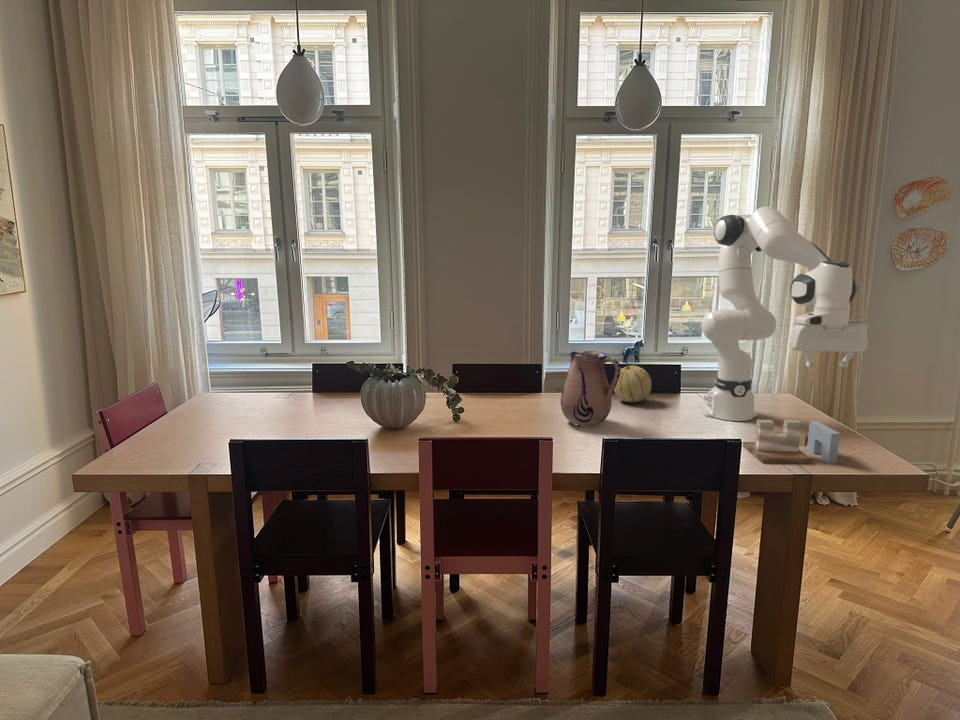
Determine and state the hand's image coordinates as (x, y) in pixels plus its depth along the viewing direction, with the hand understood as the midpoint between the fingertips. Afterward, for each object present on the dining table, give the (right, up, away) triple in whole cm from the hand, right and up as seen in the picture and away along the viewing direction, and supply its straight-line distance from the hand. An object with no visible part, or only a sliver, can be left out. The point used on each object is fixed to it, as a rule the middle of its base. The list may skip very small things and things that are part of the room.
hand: (826, 366), depth 174 cm
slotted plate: (+3, -27, +8) cm, 28 cm away
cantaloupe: (-39, -15, +67) cm, 79 cm away
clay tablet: (+1, -24, +24) cm, 34 cm away
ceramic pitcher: (-61, -21, +39) cm, 75 cm away
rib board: (-10, -27, +9) cm, 30 cm away
